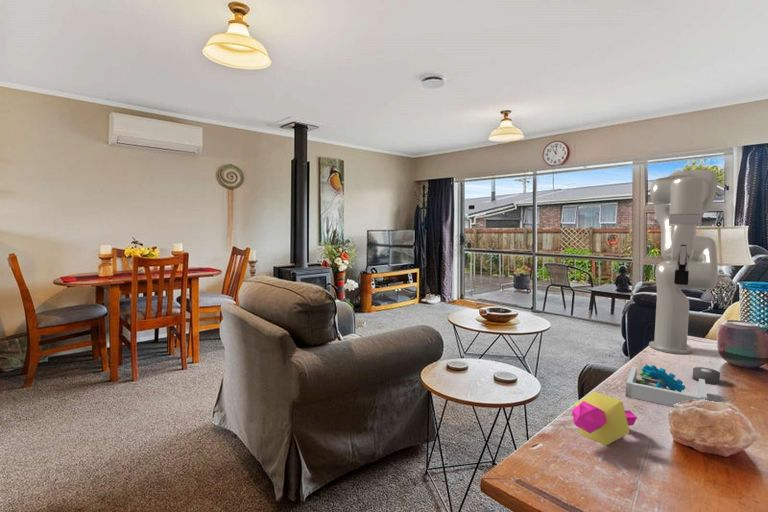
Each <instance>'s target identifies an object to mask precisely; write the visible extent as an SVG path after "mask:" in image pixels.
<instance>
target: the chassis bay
mask: <svg viewBox="0 0 768 512" xmlns="http://www.w3.org/2000/svg"><path fill="white" fill-rule="evenodd" d="M637 374H638V367H637V366H631V368H630V372H629V374H628V377H627V380H626V383H625V397H627V396H629V397H628V398H632V397H633V398H632V399H637V400H640V401H641V400H642V401H646V402H649V403H650V402H651V403H655V404H658V405H659V404H660V405H664V406H669V407H672V406H673V405H674V404H676V403H679V402H682V401H686V400H693V399H705V400H707V401H708V394H707V387H706V385H707V384H705V379H699V382H698V384H697V385H698V386H697V387H698V388H697V394H698V395H696V394H692V393H687V392H682V391H681V392H678V391H677V390H675V391H672V390H670V389H668V388H667V389H666V388H664V387H660V388H658V387H655V386H652V385H648V384H647V385H646V384H640V383H637V378H638V377H637Z"/></svg>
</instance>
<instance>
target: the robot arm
mask: <svg viewBox="0 0 768 512" xmlns="http://www.w3.org/2000/svg"><path fill="white" fill-rule="evenodd" d="M717 177H718V176H717V175H716V173H715V172H714V171H713V170H710V169H696V170H695V169H694V170H680V171H679V170H678V171H675V172H673V173H671V174H669V175H668V176H665V177H660V178H659V177H658V178H655V179H654V180H653V181H652V183H651V186H650V191H649V197H650V200H651V201H650V202H651V203H652V204H653V208H654V215H655V217H656V220H657V223H658V225H659V228H660V255H661V257H662V259H664V260H665V261H661V262H659V263H658V264H657V265H656V267H655V270H654V274H655V275H654V276H655V284H656V302H655V303H656V305H655V306H656V307H655V321H654V322H655V323H654V324H655V325H654V326H655V327H654V340H652V341H649V343H648V346H649V347H650V348H652V349H654V350H657V351H660V352H665V353H669V354H680V355H685V354H691V353H693V348H692V347H691V346H689V345H688V333H689V332H688V331H689V318H690V317H689V315H690V300H689V298H688V296H687V295H685V293H684V292H683V291H682V290H686V289H687V290H699V291H700V290H701V291H709V290H713V289H715V288H716V287H717V285H718V282H719V281H718V280H719V271H718V270H719V269H718V255H717V245H716V242H715V240H714V239H713V238H712V237H710V236H704V235H703V236H702V235H696V228H697V227H701V226H702V217H703V214H704V213H707V212H709V211H710V210H711V209H712V206H713V204H714V200H715V197H716V196H715V195H716V192H717V190H718V189H717V188H718V178H717Z"/></svg>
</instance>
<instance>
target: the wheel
mask: <svg viewBox="0 0 768 512" xmlns="http://www.w3.org/2000/svg"><path fill="white" fill-rule="evenodd" d="M699 379H705V385H714V386H715V385H720V382H721V381H720V379H721V372H720V371H718V370H716V369H712V368H708V367H701V366H700V367H699V366H698V367H696V366H695V367H693V368H692V380H693V381H696V382H698V383H699Z"/></svg>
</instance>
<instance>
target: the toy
mask: <svg viewBox="0 0 768 512" xmlns="http://www.w3.org/2000/svg"><path fill="white" fill-rule="evenodd" d="M573 407H574V408H573V409H572V410H571V413H572V414H571V415H572V418H573V424H574V426H575V427H577V428H578V432H579V433H578V434H580V435H581V436H584V437H586V438H587V439H591V440H593V441H595V442H597V443H599V444H601V445H602V444H603V445H604V446H607V445H610V444H611V443H613V442H615V441H617V440H618V439H619V440H620V439H621V438H622V437H624V436H626V435H628V434H629V433H631V432H630V427H629V426H634V424H635V422H636V421H637V418H638V416H636V414H634V413H633V412H632V411H631V410H625V408H624V402H623V401H622V400H621V399H618V398H614V397H612V396H609V395H606V394H603V393H600V392H597V391H592V392H591V393H590V394H588V395H586V396H585V397H582V398H581V399H580V400H579V401H577V402H575V403H574V404H573Z"/></svg>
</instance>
